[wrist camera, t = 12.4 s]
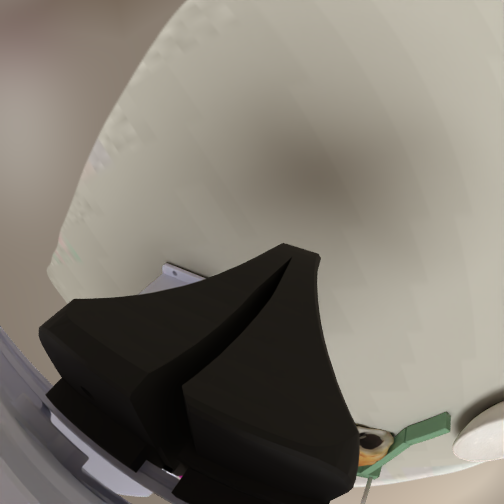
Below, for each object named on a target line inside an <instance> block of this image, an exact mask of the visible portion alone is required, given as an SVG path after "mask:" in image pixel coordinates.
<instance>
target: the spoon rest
mask: <svg viewBox="0 0 504 504" xmlns="http://www.w3.org/2000/svg"><path fill="white" fill-rule="evenodd" d="M453 453H454V454H455V455H456V456H457V457H458V458H460V459H462V460H466V461H472V462H483V461H492V460H498V459H503V458H504V401H502V402H499V403H497V404H495V405H494V406H492V407H490V408H489V409H487V410H485V411H484V412H482V413H481V414H479V415H478V416H477V417H475V418H474V419H473V420H472V421H471V422H470V423H469V424H468V425H467V426H466V427H465V428H464V429H463V430H462V431H461V433H460V434H459V435H458V437H457V438H456V440H455V441H454V443H453Z"/></svg>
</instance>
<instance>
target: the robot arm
mask: <svg viewBox="0 0 504 504" xmlns="http://www.w3.org/2000/svg"><path fill="white" fill-rule="evenodd" d="M320 260H321V257H320V256H319V254H317V253H314V252H311V251H307V250H304V249H301V248H298V247H295V246H291V245H288V244H285V243H282V244H280V245H278V246H276V247H274V248H272V249H270V250H269V251H267V252H265V253H263V254H261V255H259V256H257V257H255V258H253V259H251V260H249V261H247V262H245V263H243V264H241V265H239V266H237V267H234V268H232V269H230V270H227V271H225V272H222V273H220V274H218V275H215V276H212V277H210V278H207V279H206V278H204V277H201V276H198V275H196V274H193V273H191V272H188V271H186V270H183V269H181V268H178V267H176V266H173V265H171V264H168V263H165V264H164V265H163V266H162V272H163V273H162V274H161V275H160V276H159V277H158V278H156V279H155V280H154V281H153V282H152V283H151V284H149V285H148V286H147V287H146V288H145V289H144V290H142V291H141V292H140V293H139V294H138V295H133V296H125V297H115V298H95V299H73V300H72V301H71V302H70V303H68V304H67V305H66V306H65V307H63V308H62V309H61V310H60V311H58V312H57V313H56V314H55V315H54V316H52V317H51V318H50V319H49V320H48V321H46V322H45V323H44V324H43V325H42V326H40V327H39V338H40V341H41V343H42V345H43V347H44V349H45V351H46V353H47V354H48V356H49V358H50V359H51V361H52V363H53V364H54V366H55V368H56V369H57V371H58V372H59V374H60V375H61V377H62V378H61V379H60V380H59V381H58V382H57V383H56V384H55V385H54V386H53V385H52V384H51V383H50V382H49V381H48V380H47V379H46V378H45V377H44V376H43V375H42V374H41V373H40V372H39V371H38V370H37V369H36V368H35V367H34V366H33V364H32V363H31V362H30V361H29V360H28V359H27V358H26V357H25V356H24V354H23V353H22V352H21V351H20V350H19V349H18V348H17V346H16V345H15V344H14V343H13V341H12V340H11V339H10V338H9V337H8V335H7V334H6V332H5V331H4V330H3V329H2V327H1V326H0V504H131V503H130V502H128V501H127V500H125V499H123V498H122V497H121V496H119V495H118V494H121V495H128V496H139V497H148V496H150V495H151V494H152V493H155V494H156V495H158V496H160V497H161V498H163V499H165V500H167V501H168V502H170V503H172V504H329V503H330V501H331V500H333V499H335V498H337V497H339V496H341V495H343V494H345V493H347V492H349V491H350V490H351V489H352V488H353V486H354V483H355V480H356V476H357V471H358V465H359V454H360V433H359V431H358V429H357V427H356V424H355V422H354V420H353V418H352V416H351V414H350V412H349V409H348V407H347V405H346V403H345V400H344V398H343V395H342V393H341V390H340V388H339V385H338V383H337V380H336V377H335V373H334V370H333V367H332V364H331V361H330V358H329V355H328V351H327V348H326V344H325V340H324V335H323V330H322V326H321V320H320V313H319V305H318V293H317V271H318V267H319V263H320ZM178 476H182V478H181V479H180V480H179V479H178V478H176V477H178Z"/></svg>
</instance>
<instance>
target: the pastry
mask: <svg viewBox="0 0 504 504" xmlns="http://www.w3.org/2000/svg"><path fill="white" fill-rule="evenodd" d="M356 427H357V429H358V431H359V433H360V454H359V465H358V467H359V466H365V465H373V464H375V463H376V462H377V461H379V460H381V459H382V458H384V457H385V455H386V454H387V452H388V449H389V447H390V446H391V445H392V444H393V443H394V438H393V437H392V435H391V433H389V432H387V431H384V430H380V429H372V428H366V427H361V426H356Z"/></svg>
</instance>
